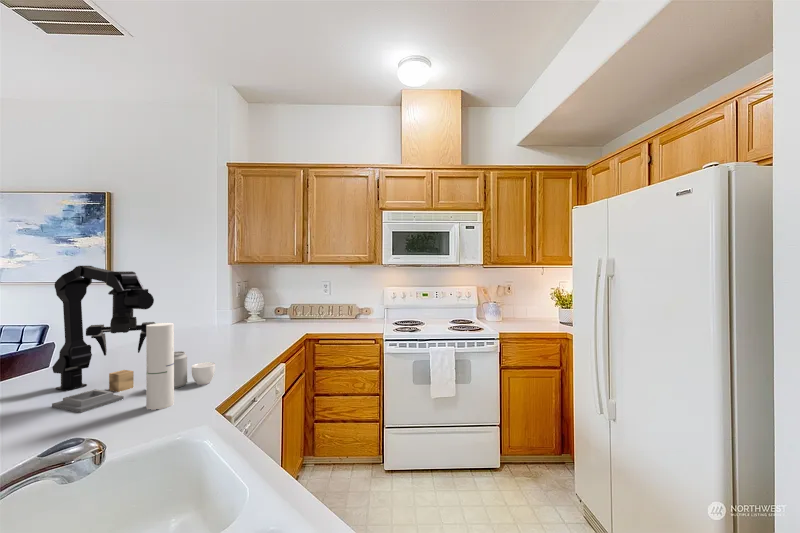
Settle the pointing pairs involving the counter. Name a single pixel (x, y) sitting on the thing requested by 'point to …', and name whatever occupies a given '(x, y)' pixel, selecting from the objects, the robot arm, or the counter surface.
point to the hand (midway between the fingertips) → (122, 353)
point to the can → (180, 369)
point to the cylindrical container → (159, 365)
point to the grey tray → (87, 400)
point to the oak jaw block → (121, 380)
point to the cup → (203, 372)
